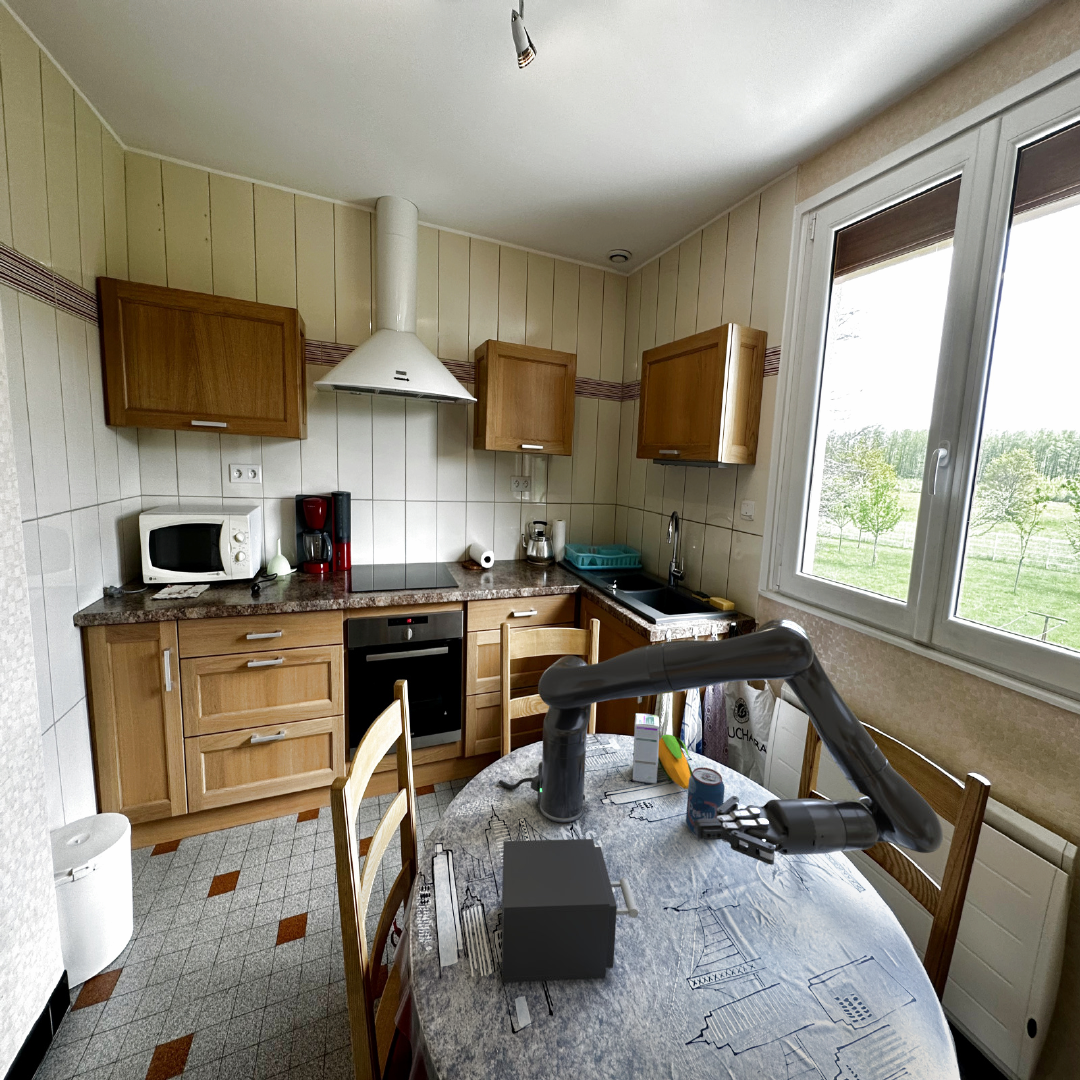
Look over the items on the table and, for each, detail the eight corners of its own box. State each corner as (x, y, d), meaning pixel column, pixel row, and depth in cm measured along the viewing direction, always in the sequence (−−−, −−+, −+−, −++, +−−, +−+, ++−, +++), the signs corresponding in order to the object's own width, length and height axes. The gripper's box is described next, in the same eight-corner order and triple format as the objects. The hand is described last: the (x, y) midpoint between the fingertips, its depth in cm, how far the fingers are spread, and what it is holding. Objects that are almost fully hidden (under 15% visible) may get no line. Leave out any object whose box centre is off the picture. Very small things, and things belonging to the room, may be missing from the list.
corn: (679, 725, 131) (705, 769, 111) (679, 752, 132) (705, 801, 112) (651, 726, 131) (671, 770, 111) (651, 753, 132) (672, 802, 112)
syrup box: (656, 784, 118) (660, 726, 116) (631, 780, 119) (635, 723, 118) (656, 770, 124) (660, 715, 122) (632, 767, 125) (635, 712, 123)
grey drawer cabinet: (589, 903, 84) (593, 838, 83) (605, 978, 72) (609, 903, 70) (501, 906, 83) (503, 840, 82) (501, 983, 70) (504, 907, 69)
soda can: (683, 835, 101) (687, 780, 100) (687, 814, 108) (691, 762, 106) (720, 845, 99) (724, 789, 97) (721, 824, 105) (725, 770, 104)
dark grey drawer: (622, 899, 84) (625, 845, 83) (641, 966, 73) (645, 905, 71) (516, 903, 83) (518, 848, 81) (519, 972, 71) (521, 909, 70)
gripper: (782, 778, 85) (681, 781, 83) (833, 832, 71) (715, 837, 70) (779, 820, 85) (679, 823, 84) (829, 881, 72) (712, 886, 71)
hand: (696, 829), depth 77 cm, fingers closed
